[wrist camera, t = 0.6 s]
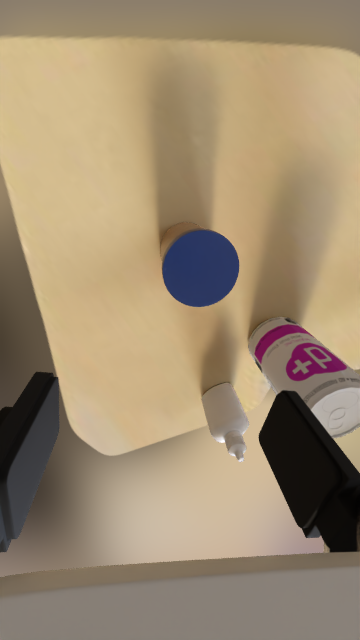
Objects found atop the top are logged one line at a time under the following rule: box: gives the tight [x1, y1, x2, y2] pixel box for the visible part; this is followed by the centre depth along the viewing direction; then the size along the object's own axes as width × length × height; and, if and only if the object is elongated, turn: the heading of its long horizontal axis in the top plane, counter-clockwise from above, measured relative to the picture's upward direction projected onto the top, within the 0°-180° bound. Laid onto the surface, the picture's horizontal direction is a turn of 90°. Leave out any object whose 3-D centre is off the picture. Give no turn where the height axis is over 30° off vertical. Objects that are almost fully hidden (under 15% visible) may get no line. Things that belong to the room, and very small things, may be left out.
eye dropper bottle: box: [202, 383, 249, 462], centre depth 36 cm, size 4×6×12 cm
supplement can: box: [248, 317, 360, 439], centre depth 31 cm, size 8×8×15 cm
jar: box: [160, 222, 204, 260], centre depth 26 cm, size 6×6×10 cm
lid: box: [162, 228, 239, 307], centre depth 22 cm, size 7×7×2 cm
